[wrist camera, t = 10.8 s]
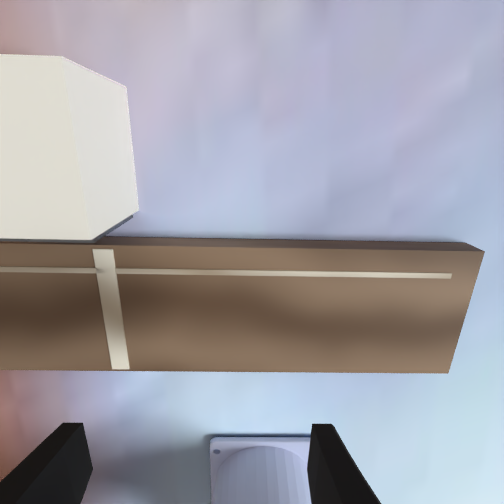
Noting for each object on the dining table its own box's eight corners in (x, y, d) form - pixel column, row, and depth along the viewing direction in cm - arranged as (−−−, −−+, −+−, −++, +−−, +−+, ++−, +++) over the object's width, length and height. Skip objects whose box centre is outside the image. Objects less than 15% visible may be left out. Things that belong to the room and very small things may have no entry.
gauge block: (139, 215, 17) (92, 247, 12) (47, 213, 17) (-42, 245, 11) (126, 86, 15) (61, 56, 9) (21, 83, 14) (-104, 50, 9)
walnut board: (433, 357, 20) (449, 374, 19) (-27, 353, 19) (-50, 370, 18) (465, 242, 17) (486, 252, 16) (-68, 233, 17) (-99, 242, 15)
